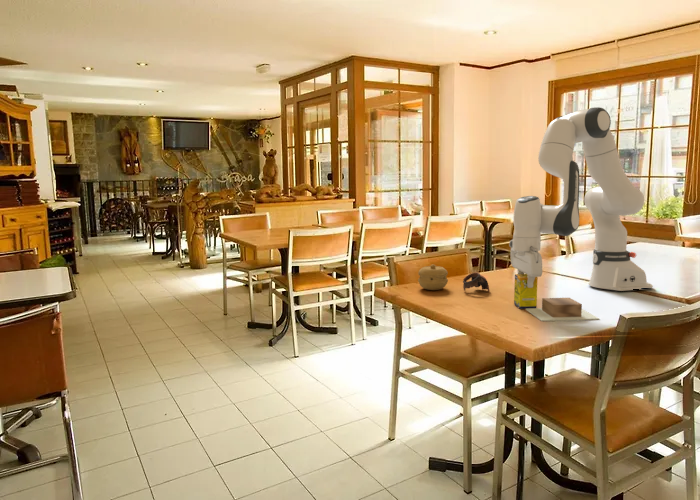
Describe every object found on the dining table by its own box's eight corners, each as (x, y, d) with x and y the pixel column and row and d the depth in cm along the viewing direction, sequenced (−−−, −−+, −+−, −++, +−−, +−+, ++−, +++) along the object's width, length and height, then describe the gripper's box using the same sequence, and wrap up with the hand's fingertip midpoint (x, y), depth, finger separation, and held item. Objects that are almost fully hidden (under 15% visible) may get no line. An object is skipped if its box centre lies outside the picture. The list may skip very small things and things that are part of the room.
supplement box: (513, 304, 183) (514, 273, 182) (530, 304, 183) (531, 273, 182) (519, 309, 177) (520, 277, 176) (537, 308, 177) (537, 276, 176)
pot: (453, 290, 206) (453, 265, 205) (425, 293, 203) (425, 268, 202) (439, 285, 218) (439, 261, 216) (413, 287, 214) (413, 263, 213)
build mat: (578, 308, 177) (578, 307, 177) (599, 319, 163) (599, 318, 163) (525, 309, 176) (525, 308, 176) (541, 321, 162) (541, 320, 162)
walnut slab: (568, 309, 174) (569, 297, 173) (581, 316, 165) (581, 304, 165) (541, 310, 174) (542, 298, 173) (552, 317, 165) (553, 305, 164)
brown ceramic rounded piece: (492, 294, 199) (483, 276, 197) (469, 304, 202) (460, 286, 200) (489, 281, 210) (480, 264, 208) (467, 291, 213) (458, 274, 211)
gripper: (548, 248, 167) (547, 291, 169) (525, 240, 187) (524, 278, 189) (528, 249, 167) (527, 292, 169) (507, 241, 187) (507, 279, 189)
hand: (525, 284), depth 179 cm, fingers closed on supplement box, 6 cm apart
